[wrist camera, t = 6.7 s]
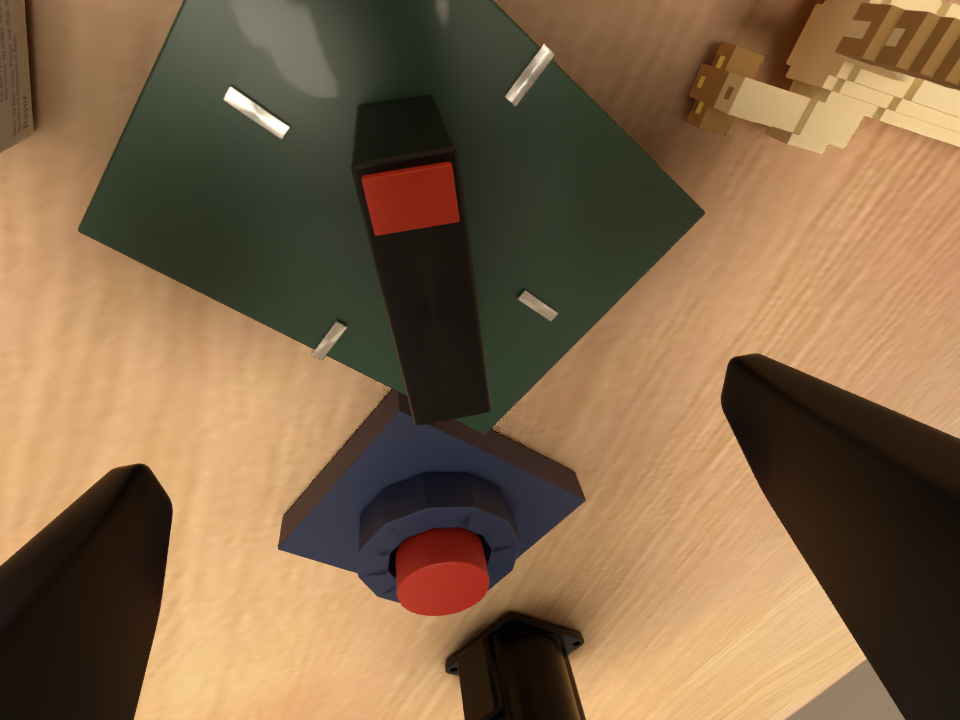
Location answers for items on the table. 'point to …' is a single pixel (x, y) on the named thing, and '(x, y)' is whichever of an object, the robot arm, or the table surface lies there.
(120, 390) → the table surface
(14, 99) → the medicine box
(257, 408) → the table surface
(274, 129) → the panel
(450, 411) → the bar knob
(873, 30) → the cream long blocky figurine
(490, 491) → the button housing
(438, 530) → the button
